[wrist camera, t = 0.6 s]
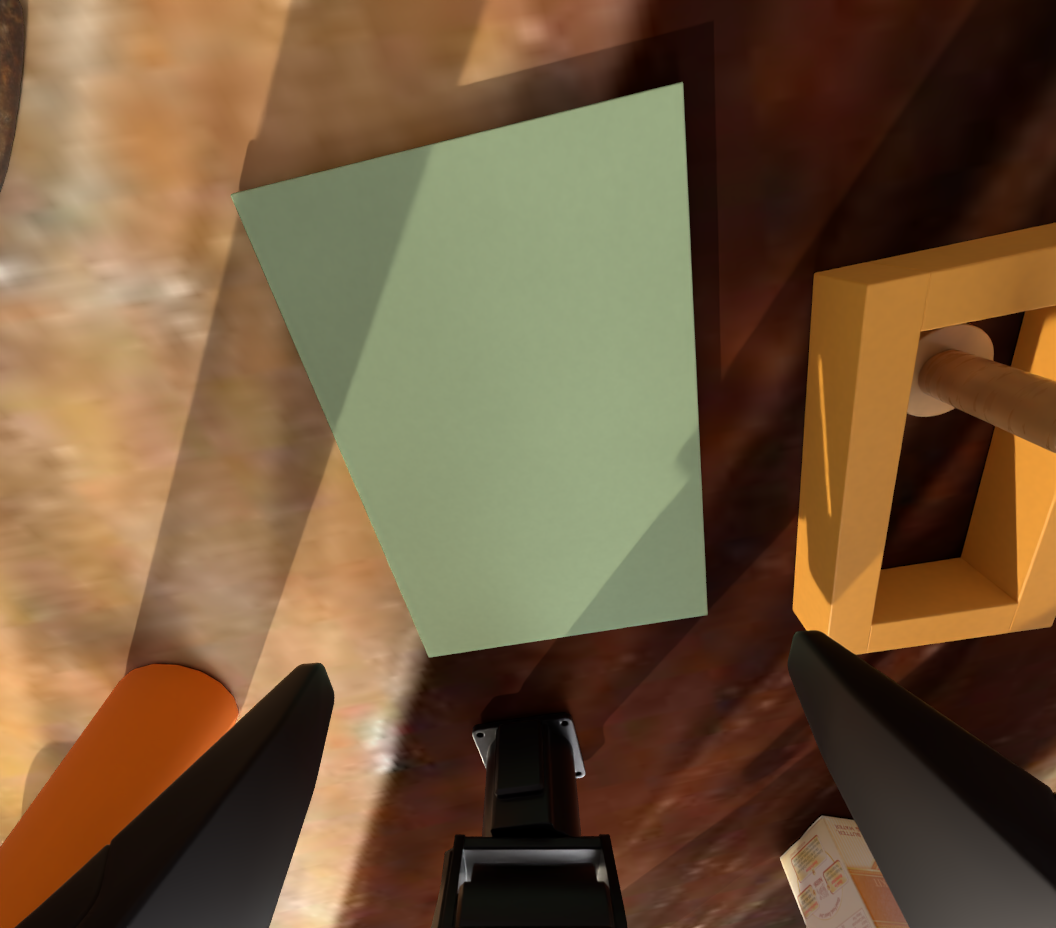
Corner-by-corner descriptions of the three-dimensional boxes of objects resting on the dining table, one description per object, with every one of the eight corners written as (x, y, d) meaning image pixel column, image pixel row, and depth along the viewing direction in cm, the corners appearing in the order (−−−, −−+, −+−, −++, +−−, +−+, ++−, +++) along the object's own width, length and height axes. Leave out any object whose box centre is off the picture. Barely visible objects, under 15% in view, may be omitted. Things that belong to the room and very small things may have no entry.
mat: (705, 609, 27) (707, 615, 27) (429, 652, 28) (428, 657, 28) (680, 83, 16) (683, 80, 16) (235, 194, 18) (229, 194, 17)
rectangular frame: (991, 579, 26) (1052, 627, 23) (791, 609, 27) (825, 659, 24) (1104, 211, 18) (1220, 212, 15) (812, 272, 19) (867, 284, 16)
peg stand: (971, 402, 22) (1138, 474, 16) (877, 420, 22) (1006, 496, 16) (992, 311, 20) (1190, 354, 14) (889, 331, 20) (1040, 382, 14)
